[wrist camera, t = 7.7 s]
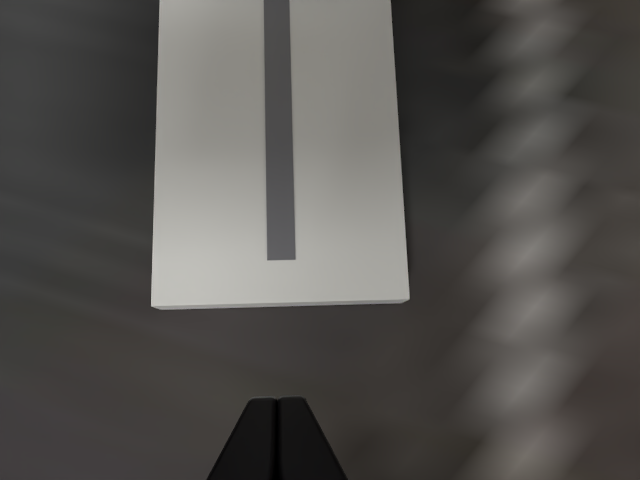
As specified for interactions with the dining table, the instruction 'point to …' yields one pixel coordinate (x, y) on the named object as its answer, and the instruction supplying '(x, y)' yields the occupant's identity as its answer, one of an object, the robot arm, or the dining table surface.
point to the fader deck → (277, 156)
